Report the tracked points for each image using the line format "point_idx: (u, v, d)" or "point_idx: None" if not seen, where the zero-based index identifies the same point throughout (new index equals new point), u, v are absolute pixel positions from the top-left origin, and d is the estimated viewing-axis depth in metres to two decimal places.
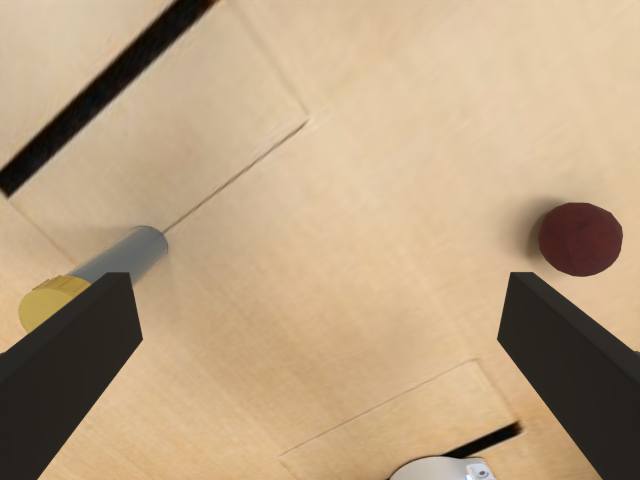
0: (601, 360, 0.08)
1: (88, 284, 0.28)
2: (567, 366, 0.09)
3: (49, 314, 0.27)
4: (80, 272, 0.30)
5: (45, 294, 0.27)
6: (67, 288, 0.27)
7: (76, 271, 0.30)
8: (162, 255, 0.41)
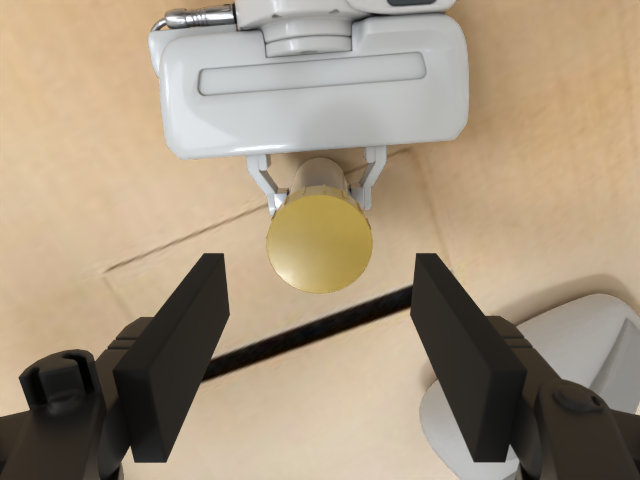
0: (455, 320, 0.10)
1: None
2: (441, 329, 0.11)
3: (322, 256, 0.18)
4: None
5: (312, 285, 0.19)
6: None
7: None
8: None
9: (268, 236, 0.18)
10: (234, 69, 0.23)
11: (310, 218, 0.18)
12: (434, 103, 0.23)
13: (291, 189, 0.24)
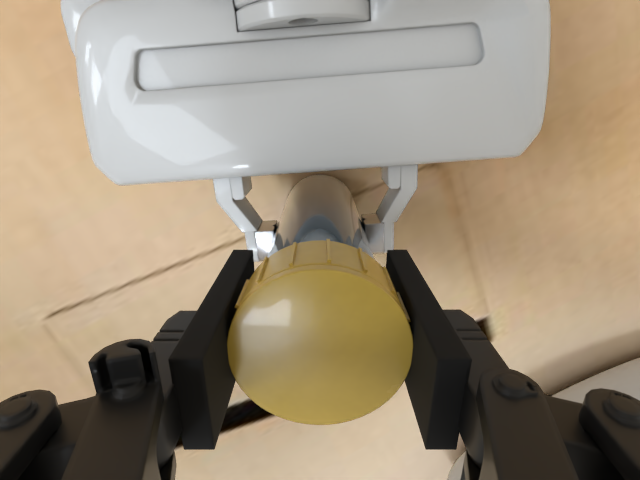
0: (413, 313, 0.10)
1: None
2: None
3: (325, 370, 0.10)
4: None
5: (307, 412, 0.11)
6: None
7: None
8: (287, 198, 0.23)
9: (229, 338, 0.10)
10: (189, 49, 0.15)
11: (303, 309, 0.10)
12: (493, 102, 0.15)
13: (278, 230, 0.16)
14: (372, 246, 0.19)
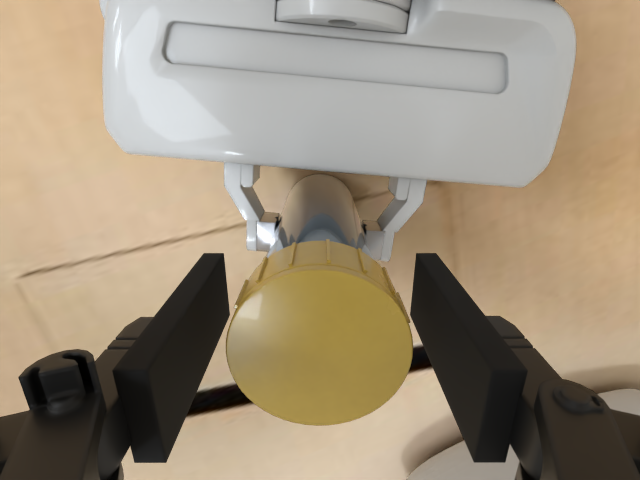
0: (455, 320, 0.10)
1: None
2: (441, 329, 0.11)
3: (339, 357, 0.10)
4: None
5: (381, 388, 0.11)
6: None
7: None
8: (290, 192, 0.23)
9: (270, 412, 0.11)
10: (223, 30, 0.15)
11: (265, 350, 0.10)
12: (508, 132, 0.16)
13: (283, 223, 0.16)
14: None
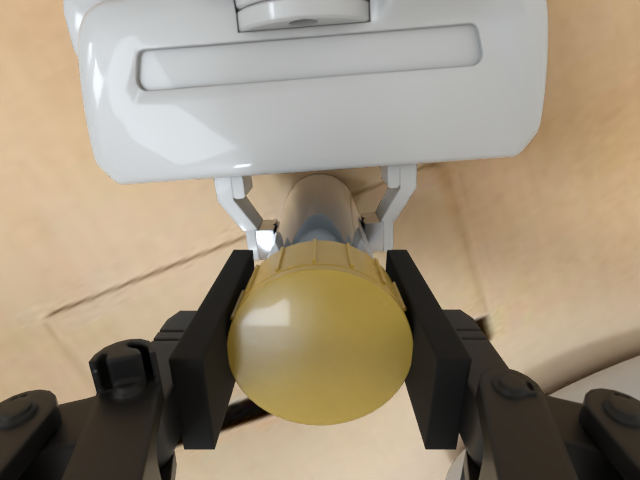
0: (413, 313, 0.10)
1: None
2: None
3: (340, 354, 0.10)
4: None
5: (388, 379, 0.11)
6: None
7: None
8: (288, 197, 0.23)
9: (283, 417, 0.11)
10: (191, 50, 0.15)
11: (266, 356, 0.10)
12: (491, 103, 0.15)
13: (278, 228, 0.16)
14: (372, 245, 0.19)
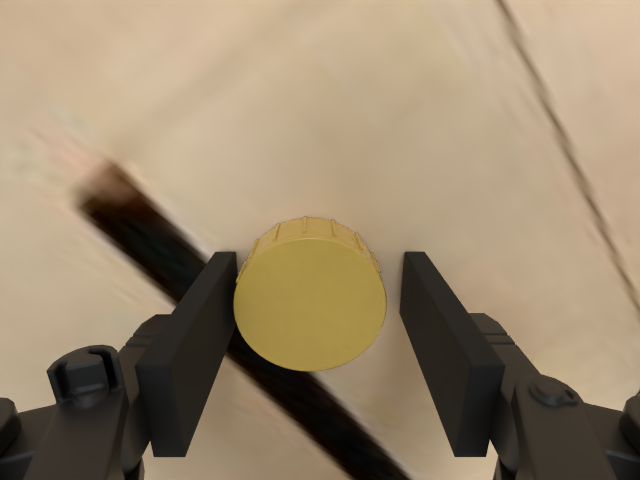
0: (439, 317, 0.10)
1: None
2: (426, 326, 0.11)
3: (326, 309, 0.13)
4: None
5: (366, 330, 0.13)
6: None
7: None
8: None
9: (280, 365, 0.13)
10: None
11: (265, 312, 0.13)
12: None
13: None
14: None
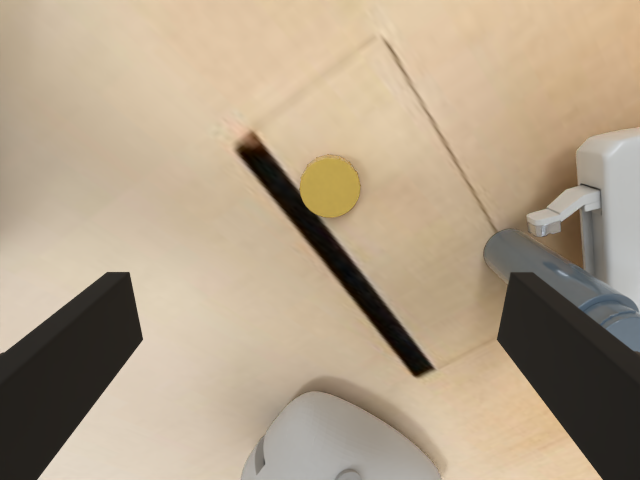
0: (601, 360, 0.08)
1: None
2: (567, 366, 0.09)
3: (336, 188, 0.32)
4: None
5: (352, 198, 0.32)
6: None
7: None
8: (526, 234, 0.34)
9: (317, 214, 0.33)
10: None
11: (312, 189, 0.32)
12: None
13: (580, 267, 0.27)
14: None
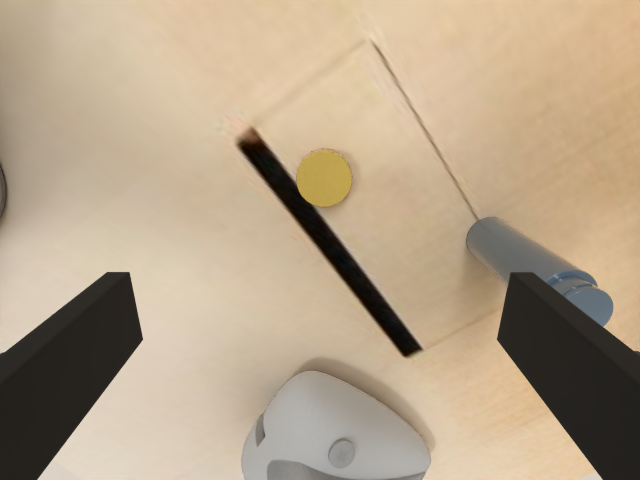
0: (601, 360, 0.08)
1: None
2: (567, 366, 0.09)
3: (330, 179, 0.35)
4: None
5: (344, 189, 0.35)
6: None
7: None
8: (504, 222, 0.37)
9: (312, 203, 0.35)
10: None
11: (308, 180, 0.35)
12: None
13: (549, 249, 0.30)
14: None
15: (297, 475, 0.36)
